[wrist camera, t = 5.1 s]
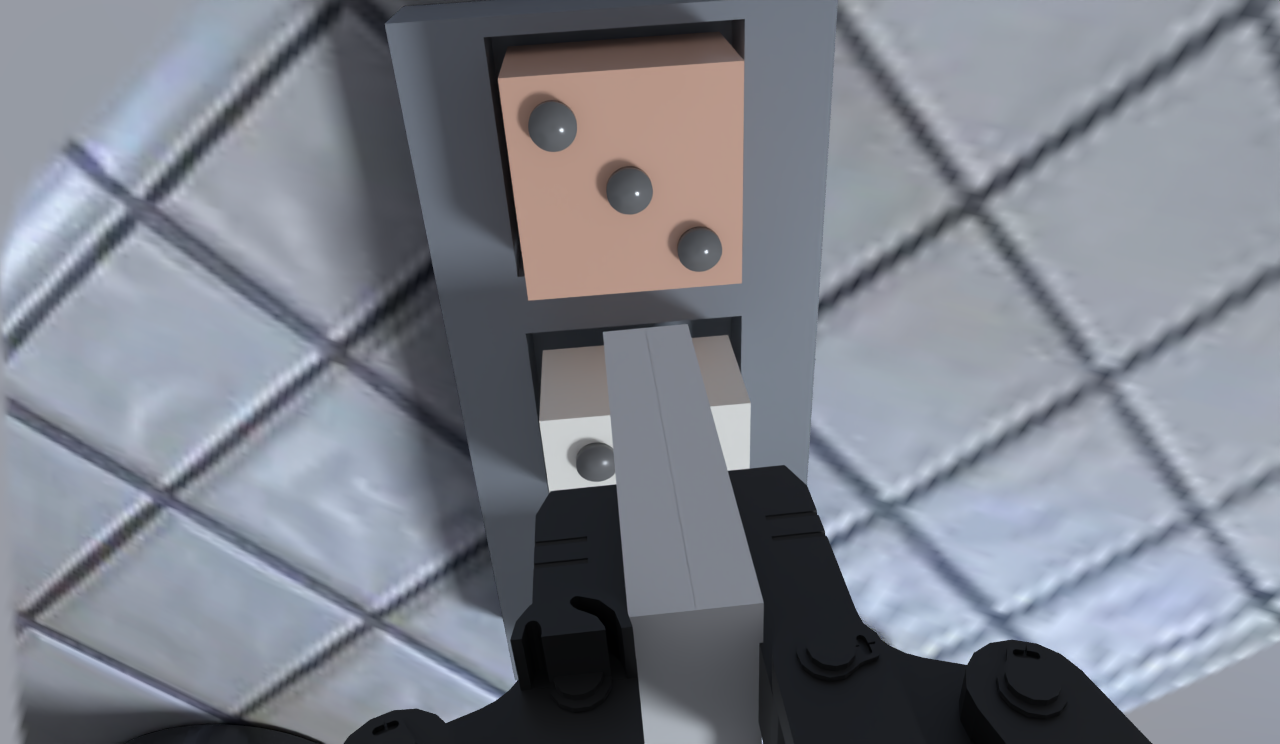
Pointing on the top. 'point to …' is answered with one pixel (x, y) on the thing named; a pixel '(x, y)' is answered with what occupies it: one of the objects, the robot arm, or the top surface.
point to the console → (520, 329)
